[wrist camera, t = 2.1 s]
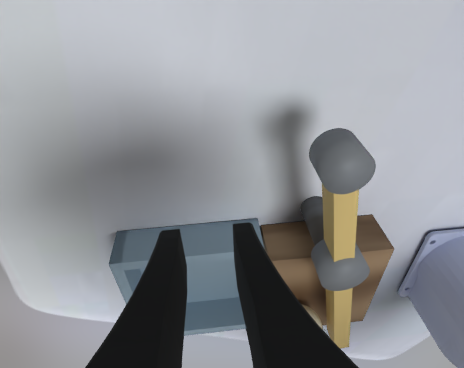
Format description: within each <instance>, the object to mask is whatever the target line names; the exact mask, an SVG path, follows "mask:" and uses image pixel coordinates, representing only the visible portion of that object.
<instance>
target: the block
mask: <svg viewBox="0 0 464 368" xmlns="http://www.w3.org/2000/svg"><path fill="white" fill-rule="evenodd" d="M301 212H302V215H303V217H304V220H305V221H301V222H291V223H280V224H270V225H261V236H262V240H263V244H264V249H265V251H266V253H267V255H268V256H269V258H270V260H271V261H272V263H273V264H274V266H275V268H276V269H277V271H278V272H279V274H280V275H281V277H282V278H283V280H284V281H285V283H286V284H287V286H288V287H289V288H290V290H291V291H292V292H293V294H294V295H295V297H296V298H297V299H298V301H299V302H300V303H301V304H302V305H305V306H308V307H310V308H311V309H312V310H314V311H315V312H316V314H317V315H318V316H319V318H320V320H321V323H322V325H327V316H326V289H325V288H324V287H323V286H322V285H321V282H320V280H319V277H318V274H317V272H316V269H315V266H314V264H313V261H312V258H311V251H312V249H313V247H314V246H315V245H316V244H317V243H318V242H320V241H321V240H323V239H324V227H323V198H322V197H311V198H309V199H307V200H305V201H304V202H303V203H302V205H301ZM356 244H357V246H358V247H359V249H360V251H361V253H362V255H363V257H364V259H365V260H366V262H367V264H368V266H369V268H370V273H369V275H368V277H367V278H366V279H365V280H364V281H363V282H362V283H361V284H359V285H357V286H355V287H353V290H352V305H351V321H350V322H356V321H363V319H364V316H365V314H366V312H367V310H368V307H369V305H370V303H371V300H372V298H373V296H374V294H375V291H376V289H377V287H378V285H379V282H380V280H381V278H382V276H383V273H384V271H385V269H386V266H387V264H388V262H389V260H390V257H391V255H392V253H393V251H394V247H393V246H392V244H391V243H390V241H389V240H388V238H387V237H386V235H385V234H384V232H383V230H382V229H381V227H380V226H379V224H378V223H377V221H376V220H375V218H374V217H373V215H364V216H357V226H356Z"/></svg>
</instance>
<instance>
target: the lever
mask: <svg viewBox="0 0 464 368" xmlns="http://www.w3.org/2000/svg"><path fill="white" fill-rule="evenodd" d="M309 158H310V161H311V163H312V165H313V166H314V168H315V170H316V172H317V174H318V176H319V178H320V180H321V182H322V197H323V227H324V239H323V240H321V241H320V242H318V243H317V244H316V245H315V246H314V247H313V249H312V251H311V258H312V261H313V264H314V266H315V269H316V272H317V274H318V277H319V280H320V282H321V285H322V286H323V287H324V288H325V289H326V316H327V330H328V333H329V336H330V339H331V340H332V341H333V342H334V343H335V344H336V345H337V346H338V347H339V348H345V347H349V337H350V321H351V305H352V290H353V287H355V286H357V285H359V284H361V283H362V282H363V281H364V280H365V279H366V278H367V277H368V275H369V273H370V268H369V266H368V264H367V262H366V260H365V259H364V257H363V255H362V253H361V251H360V249H359V247H358V246H357V244H356V226H357V211H358V195H359V189H360V188H362V187H363V186H365V185H366V184H367V183H368V182H369V181H370V179H371V178H372V176H373V174H374V172H375V168H376V165H375V161H374V159H373V157H372V156H371V155H370V153H369V152H368V151H367V150H366V149H365V147H364V146H363V145H362V144H361V142H360V141H359V140H358V139H357V138H356V136H355V135H354V134H353V133H352V132H351V131H349V130H347V129H343V128H336V129H331V130H328V131H326V132H324V133H322V134H321V135H320V136H318V137H317V138H316V139H315V141H314V142H313V143H312V145H311V147H310V151H309Z"/></svg>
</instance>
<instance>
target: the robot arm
mask: <svg viewBox="0 0 464 368" xmlns="http://www.w3.org/2000/svg"><path fill="white" fill-rule="evenodd" d="M233 245H234V264H235V272H236V281H237V289H238V293H239V298H240V303H241V308H242V312H243V317H244V321H245V326H246V331H247V335H248V340H249V345H250V350H251V355H252V361H253V368H358V366H356V365H355V364H354V363H353V362H352V361H351V359H350V358H349V357H348V356H347V355H346V354H345V353H344V352H343V351H342V350H341V349H340V348H339V347H338V346H337V345H336V344H335V343H334V342H333V341H332V340H331V339H330V337H329V336H328V335H327V334H326V333H325V332H324V331H323V330H322V328H321V327H320V326H319V325H318V324H317V323H316V322H315V320H314V319H313V318H312V317H311V316H310V314H309V313H308V312H307V311H306V309H305V308H304V307H303V306H302V304H301V303H300V302H299V301H298V299H297V298H296V297H295V295H294V294H293V292H292V291H291V290H290V288H289V287H288V286H287V284H286V283H285V281H284V280H283V278H282V277H281V275H280V274H279V272H278V271H277V269H276V268H275V266H274V264H273V263H272V261H271V260H270V258H269V256H268V255H267V253H266V251H265V249H264V247H263V246H262V244H261V242H260V240H259V238H258V236H257V234H256V231H255V229H254V227H253V224H251V223H250V222H247V223H237V224H233ZM398 295H399V296H400V297H409V299H410V300H411V302H412V304H413V305H414V307H415V309H416V310H417V312H418V314H419V315H420V317H421V319H422V320H423V322H424V324H425V325H426V327H427V329H428V330H429V332H430V334H431V335H432V337H433V338H434V340H435V342H436V343H437V345H438V347H439V349H440V350H441V351H442V353H443V354H444V355H445V357H446V358H447V359H448V360H449V361H450V362H452V364H454V365H455V366H456V367H457V368H464V228H463V229H453V230H443V231H433V232H430V233H429V234H428V235H427V236H426V238H425V240H424V242H423V244H422V246H421V248H420V250H419V252H418V254H417V256H416V258H415V260H414V261H413V263H412V265H411V267H410V269H409V271H408V273H407V275H406V277H405V279H404V281H403V283H402V285H401V287H400V288H399V290H398ZM186 304H187V264H186V259H185V253H184V248H183V243H182V238H181V233H180V229H173V230H162V231H161V232H160V233H159V236H158V239H157V242H156V245H155V247H154V250H153V252H152V255H151V257H150V259H149V261H148V264H147V266H146V268H145V270H144V272H143V274H142V276H141V278H140V280H139V282H138V284H137V286H136V288H135V290H134V292H133V294H132V295H131V297H130V299H129V301H128V303H127V304H126V306H125V308H124V310H123V312H122V313H121V315H120V317H119V318H118V320H117V322H116V323H115V325H114V326H113V328H112V330H111V331H110V333H109V334H108V336H107V337H106V339H105V340H104V342H103V343H102V345H101V346H100V348H99V349H98V350H97V352H96V353H95V355H94V356H93V357H92V359H91V360H90V362H89V363H88V365H87V366H86V367H85V368H181V367H182V351H183V339H184V328H185V316H186Z"/></svg>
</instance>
